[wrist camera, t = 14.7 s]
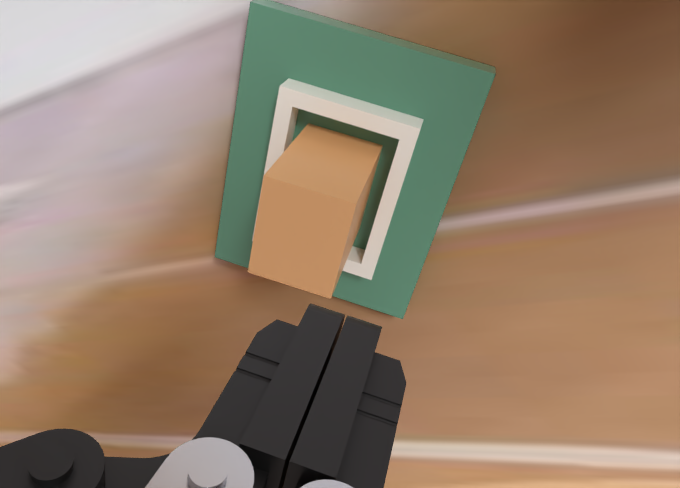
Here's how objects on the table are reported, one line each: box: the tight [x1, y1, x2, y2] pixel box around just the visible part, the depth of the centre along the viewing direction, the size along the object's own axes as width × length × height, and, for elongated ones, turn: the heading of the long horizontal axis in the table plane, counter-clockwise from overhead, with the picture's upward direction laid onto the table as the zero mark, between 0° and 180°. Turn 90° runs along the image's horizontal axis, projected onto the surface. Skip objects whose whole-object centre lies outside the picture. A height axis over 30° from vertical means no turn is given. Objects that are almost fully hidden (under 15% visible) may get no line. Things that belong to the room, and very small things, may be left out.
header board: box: [215, 0, 496, 319], centre depth 31 cm, size 12×15×3 cm
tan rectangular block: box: [248, 123, 383, 299], centre depth 28 cm, size 4×6×7 cm
